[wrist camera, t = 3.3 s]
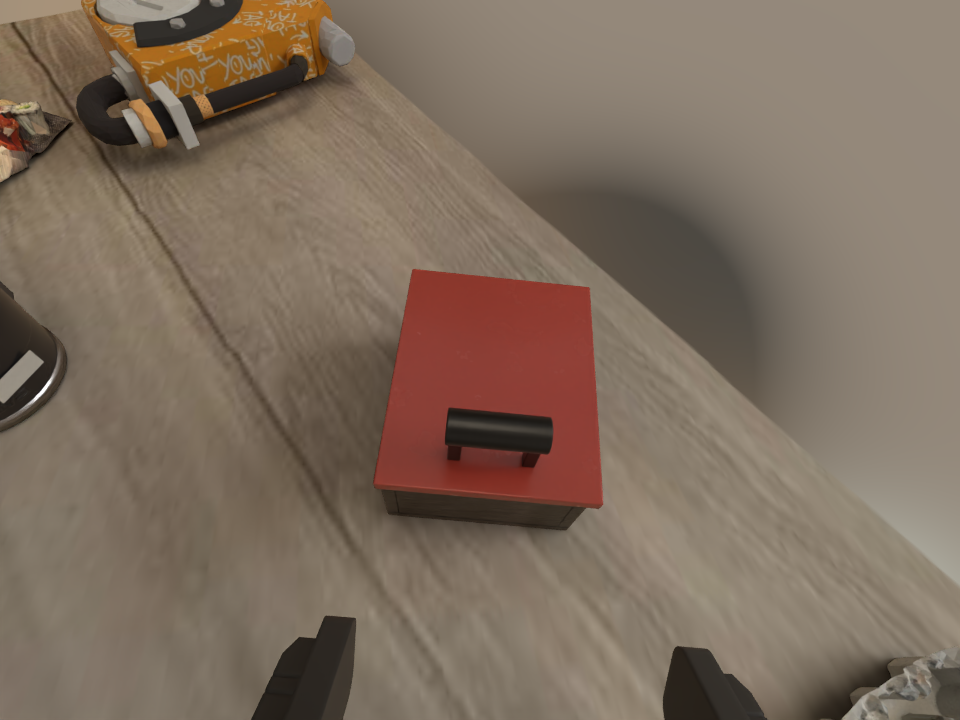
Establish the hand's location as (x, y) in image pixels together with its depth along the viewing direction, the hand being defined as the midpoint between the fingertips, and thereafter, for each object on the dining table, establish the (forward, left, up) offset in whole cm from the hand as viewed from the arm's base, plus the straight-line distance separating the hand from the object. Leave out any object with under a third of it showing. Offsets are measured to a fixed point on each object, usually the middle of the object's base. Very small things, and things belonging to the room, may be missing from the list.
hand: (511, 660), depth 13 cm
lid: (-11, +11, -12) cm, 19 cm away
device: (-61, +16, -20) cm, 66 cm away
